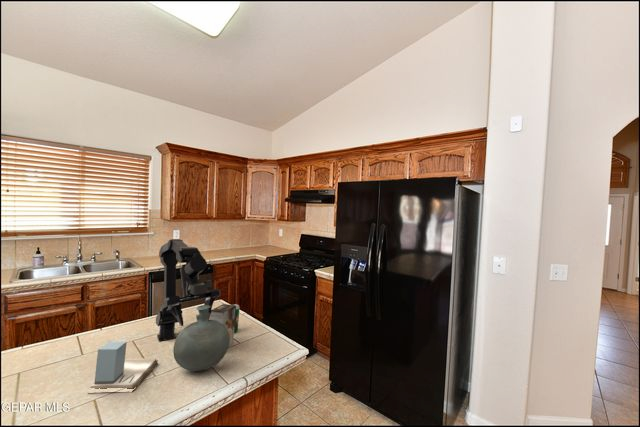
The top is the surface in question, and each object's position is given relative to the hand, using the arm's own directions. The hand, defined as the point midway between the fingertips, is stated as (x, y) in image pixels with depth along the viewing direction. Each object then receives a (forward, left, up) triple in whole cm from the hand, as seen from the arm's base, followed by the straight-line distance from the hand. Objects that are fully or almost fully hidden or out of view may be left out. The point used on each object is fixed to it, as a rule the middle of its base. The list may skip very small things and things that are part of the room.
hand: (196, 322), depth 91 cm
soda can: (-22, +22, -16) cm, 35 cm away
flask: (+4, +2, -16) cm, 16 cm away
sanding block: (-2, -23, -13) cm, 27 cm away
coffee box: (-10, +13, -16) cm, 23 cm away
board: (-5, -19, -15) cm, 25 cm away
